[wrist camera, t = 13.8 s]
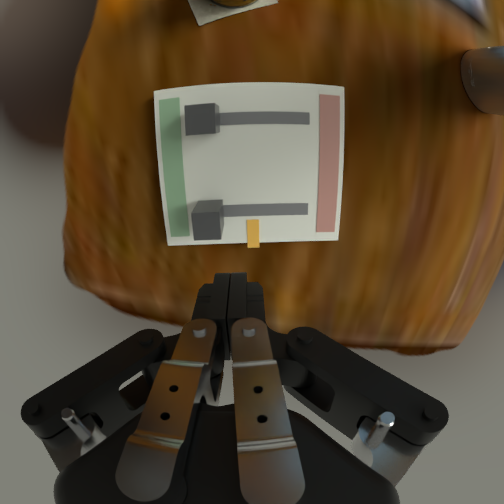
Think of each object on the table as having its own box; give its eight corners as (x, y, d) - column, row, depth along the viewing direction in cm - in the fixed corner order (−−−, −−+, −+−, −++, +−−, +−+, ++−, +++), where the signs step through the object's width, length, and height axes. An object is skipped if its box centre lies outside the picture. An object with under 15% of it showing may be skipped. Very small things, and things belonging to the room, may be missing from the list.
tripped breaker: (222, 199, 27) (219, 211, 24) (224, 223, 28) (221, 239, 25) (198, 200, 27) (191, 213, 24) (200, 224, 28) (193, 240, 25)
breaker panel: (337, 89, 25) (344, 86, 23) (332, 237, 32) (337, 244, 30) (159, 93, 24) (153, 90, 22) (172, 242, 31) (168, 250, 30)
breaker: (219, 106, 23) (214, 102, 20) (220, 132, 24) (215, 133, 21) (193, 108, 23) (184, 105, 20) (194, 134, 24) (185, 135, 21)
